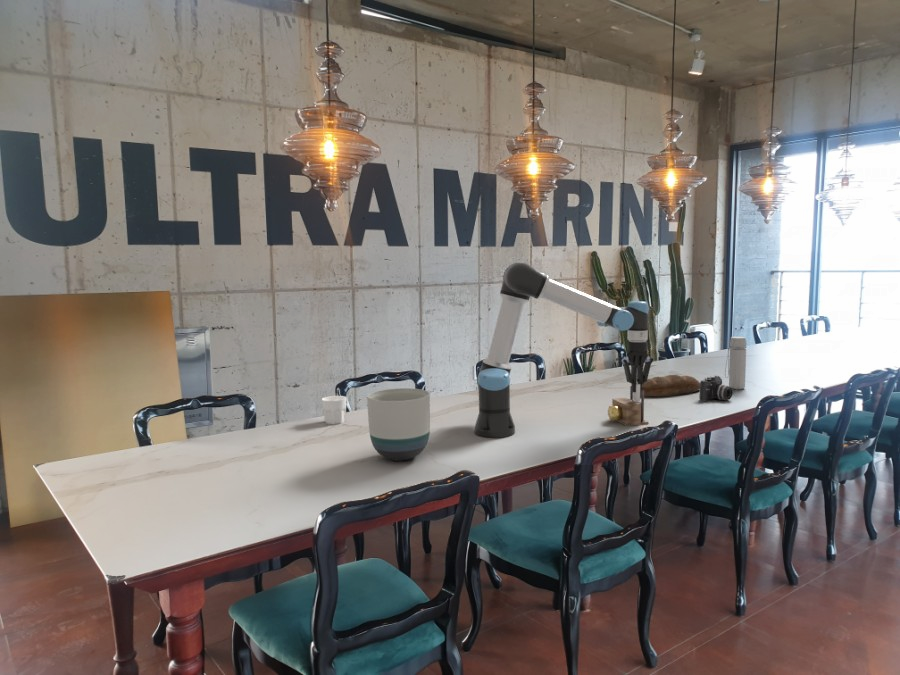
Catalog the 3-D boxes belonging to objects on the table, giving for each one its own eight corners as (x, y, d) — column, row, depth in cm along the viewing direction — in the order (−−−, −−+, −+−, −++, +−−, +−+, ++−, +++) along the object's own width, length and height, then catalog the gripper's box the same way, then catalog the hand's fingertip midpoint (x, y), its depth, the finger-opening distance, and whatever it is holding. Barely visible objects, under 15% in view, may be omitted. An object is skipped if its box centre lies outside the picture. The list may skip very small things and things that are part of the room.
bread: (709, 392, 290) (709, 374, 289) (649, 400, 276) (649, 382, 275) (685, 386, 305) (685, 370, 304) (626, 394, 291) (626, 376, 290)
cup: (318, 424, 248) (317, 400, 247) (331, 418, 257) (330, 395, 256) (339, 425, 244) (338, 401, 243) (351, 419, 254) (350, 396, 252)
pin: (614, 422, 236) (614, 407, 235) (607, 418, 241) (607, 404, 240) (643, 419, 238) (643, 405, 237) (636, 416, 243) (636, 402, 243)
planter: (380, 471, 188) (377, 404, 185) (362, 453, 206) (360, 392, 204) (440, 461, 196) (439, 396, 193) (418, 445, 214) (416, 386, 212)
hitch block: (626, 425, 233) (626, 392, 232) (612, 418, 245) (612, 386, 243) (648, 423, 235) (648, 391, 233) (633, 416, 247) (633, 385, 245)
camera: (720, 404, 265) (720, 381, 263) (696, 400, 273) (697, 378, 272) (736, 399, 273) (736, 377, 272) (713, 395, 282) (713, 374, 281)
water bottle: (746, 387, 297) (747, 336, 294) (744, 390, 291) (745, 338, 288) (725, 385, 302) (727, 336, 299) (723, 388, 296) (724, 337, 293)
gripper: (626, 342, 232) (625, 403, 235) (657, 341, 234) (656, 401, 237) (617, 340, 239) (616, 399, 242) (647, 339, 242) (646, 397, 244)
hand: (636, 400), depth 240 cm, fingers closed
